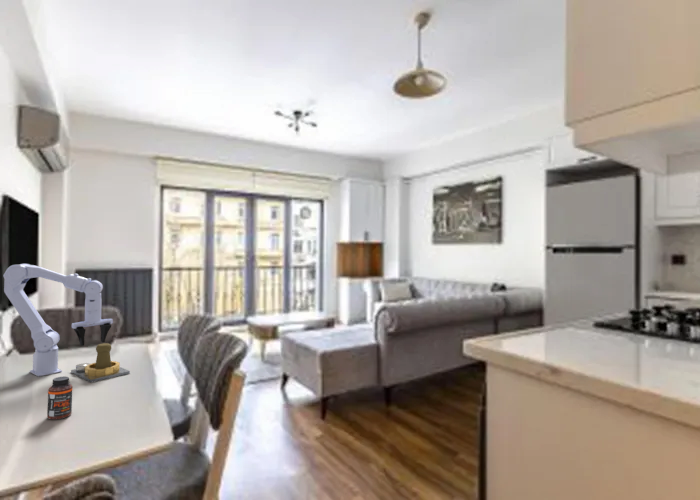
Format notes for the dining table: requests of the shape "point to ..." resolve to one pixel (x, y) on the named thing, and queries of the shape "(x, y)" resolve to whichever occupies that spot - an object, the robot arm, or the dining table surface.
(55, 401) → the supplement bottle
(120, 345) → the dining table surface
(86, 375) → the flanged metal plate
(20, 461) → the dining table surface
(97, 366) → the cork
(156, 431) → the dining table surface
